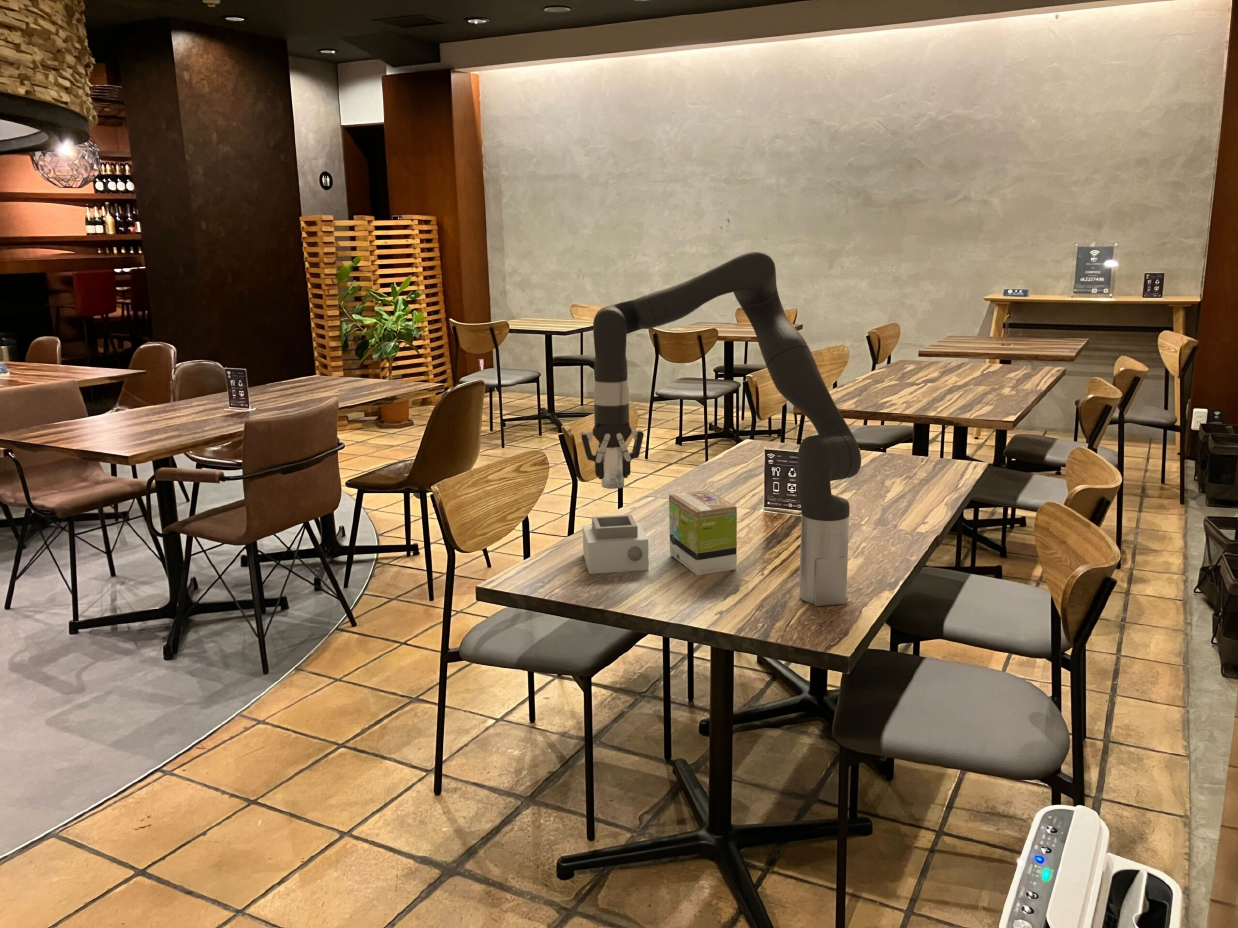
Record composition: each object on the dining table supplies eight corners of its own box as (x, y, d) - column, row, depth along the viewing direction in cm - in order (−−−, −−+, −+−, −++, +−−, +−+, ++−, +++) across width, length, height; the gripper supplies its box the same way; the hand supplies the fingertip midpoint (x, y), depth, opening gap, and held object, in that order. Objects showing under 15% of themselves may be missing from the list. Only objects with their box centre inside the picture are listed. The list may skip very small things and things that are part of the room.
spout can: (625, 488, 211) (625, 442, 209) (603, 489, 210) (602, 443, 208) (622, 482, 216) (621, 437, 214) (600, 483, 215) (599, 438, 213)
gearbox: (649, 571, 211) (648, 529, 209) (589, 575, 210) (588, 532, 207) (639, 551, 225) (638, 511, 222) (583, 554, 223) (582, 514, 221)
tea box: (668, 555, 221) (667, 493, 218) (708, 550, 225) (708, 488, 221) (696, 576, 207) (696, 510, 204) (738, 570, 211) (738, 504, 207)
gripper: (579, 405, 204) (582, 484, 208) (647, 402, 206) (648, 480, 210) (576, 399, 211) (578, 475, 215) (641, 396, 213) (642, 472, 217)
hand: (613, 477), depth 213 cm, fingers closed on spout can, 5 cm apart
